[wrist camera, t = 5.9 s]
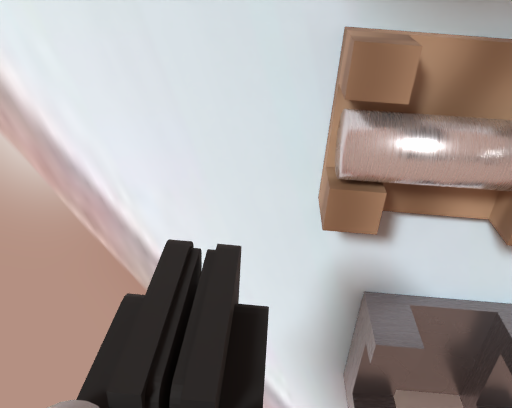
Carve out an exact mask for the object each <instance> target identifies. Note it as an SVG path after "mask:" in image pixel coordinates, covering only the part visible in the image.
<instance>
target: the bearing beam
mask: <svg viewBox="0 0 512 408" xmlns="http://www.w3.org/2000/svg"><path fill="white" fill-rule="evenodd" d="M344 109H356V110H371V111H386V112H400V113H415V114H430V115H444V116H459V117H473V118H488V119H503V120H512V39H501V38H488V37H475V36H461V35H448V34H435V33H422V32H408V31H395V30H382V29H369V28H355V27H345V29H344V36H343V42H342V49H341V55H340V62H339V68H338V74H337V81H336V87H335V94H334V100H333V107H332V113H331V120H330V126H329V133H328V139H327V145H326V152H325V158H324V165H323V171H322V178H321V184H320V191H319V197H318V198H319V206H320V214H321V221H322V229H323V230H327V231H339V232H352V233H364V234H376V235H377V231H378V227H379V223H380V219H381V215H382V211H392V212H405V213H417V214H430V215H442V216H454V217H467V218H479V219H489V221H490V222H491V223H492V225H493V226H494V228H495V229H496V230H497V232H498V233H499V235H500V236H501V237H502V239H503V240H504V241H505V243H506V244H507V245H511V246H512V191H499V190H485V189H471V188H457V187H443V186H429V185H415V184H401V183H387V182H373V181H359V180H345V179H337V177H336V172H335V149H336V138H337V131H338V125H339V121H340V117H341V114H342V111H343V110H344Z"/></svg>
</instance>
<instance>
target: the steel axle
mask: <svg viewBox="0 0 512 408" xmlns="http://www.w3.org/2000/svg"><path fill="white" fill-rule="evenodd" d="M335 172H336V177H337V179H345V180H359V181H373V182H387V183H401V184H415V185H429V186H443V187H457V188H471V189H485V190H499V191H512V120H503V119H488V118H473V117H459V116H444V115H430V114H415V113H400V112H386V111H371V110H356V109H344V110H343V111H342V114H341V117H340V121H339V125H338V131H337V138H336V149H335Z"/></svg>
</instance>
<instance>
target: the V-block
mask: <svg viewBox="0 0 512 408" xmlns="http://www.w3.org/2000/svg"><path fill="white" fill-rule="evenodd" d="M344 382H345V389H346V397H347V404H348V408H396V406H395V401H394V397H393V396H394V393H395V390H396V389H398V390H410V391H421V392H433V393H445V394H456V395H459V396H460V398H461V401H462V403H463V406H464V408H512V304H504V303H492V302H480V301H468V300H456V299H444V298H432V297H420V296H408V295H396V294H384V293H372V292H364V294H363V298H362V302H361V306H360V310H359V314H358V318H357V322H356V326H355V330H354V334H353V338H352V342H351V346H350V350H349V354H348V359H347V363H346V367H345V371H344Z"/></svg>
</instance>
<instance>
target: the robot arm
mask: <svg viewBox="0 0 512 408" xmlns="http://www.w3.org/2000/svg"><path fill="white" fill-rule="evenodd" d="M240 263H241V246H235V245H224V244H217V247H216V250H210V249H208V250H207V253H206V257H205V260H204V264H203V268H202V272H201V249H198V248H193V242H191V241H180V240H168V241H167V243H166V245H165V247H164V250H163V252H162V255H161V257H160V260H159V262H158V265H157V267H156V270H155V272H154V275H153V277H152V280H151V282H150V285H149V287H148V290H147V292H146V295H138V294H127V295H125V296H124V298H123V300H122V302H121V304H120V306H119V309H118V310H117V313H116V315H115V317H114V319H113V321H112V323H111V326H110V328H109V330H108V332H107V334H106V337H105V339H104V341H103V343H102V345H101V347H100V350H99V352H98V354H97V356H96V358H95V360H94V363H93V365H92V367H91V369H90V371H89V373H88V376H87V378H86V380H85V382H84V384H83V386H82V389H81V391H80V393H79V395H78V397H77V399H76V400H70V401H65V402H60V403H57V404H55V405H53V406H50V407H48V408H263V394H264V378H265V361H266V345H267V328H268V311H269V307H267V306H256V305H245V304H238V299H239V281H240Z"/></svg>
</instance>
